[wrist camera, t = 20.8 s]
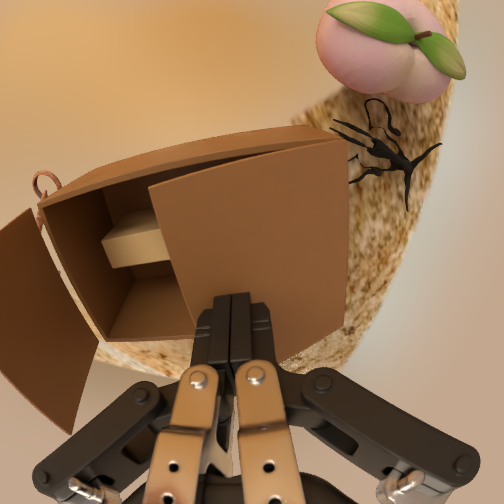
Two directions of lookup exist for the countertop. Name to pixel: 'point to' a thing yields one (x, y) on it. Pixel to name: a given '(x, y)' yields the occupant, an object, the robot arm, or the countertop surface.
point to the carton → (101, 269)
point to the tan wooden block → (135, 240)
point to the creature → (385, 152)
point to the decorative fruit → (388, 49)
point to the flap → (264, 238)
